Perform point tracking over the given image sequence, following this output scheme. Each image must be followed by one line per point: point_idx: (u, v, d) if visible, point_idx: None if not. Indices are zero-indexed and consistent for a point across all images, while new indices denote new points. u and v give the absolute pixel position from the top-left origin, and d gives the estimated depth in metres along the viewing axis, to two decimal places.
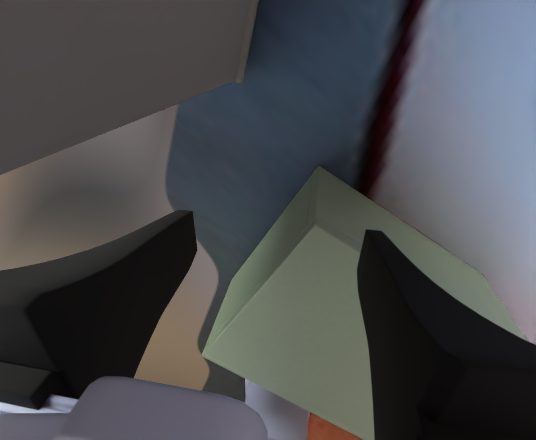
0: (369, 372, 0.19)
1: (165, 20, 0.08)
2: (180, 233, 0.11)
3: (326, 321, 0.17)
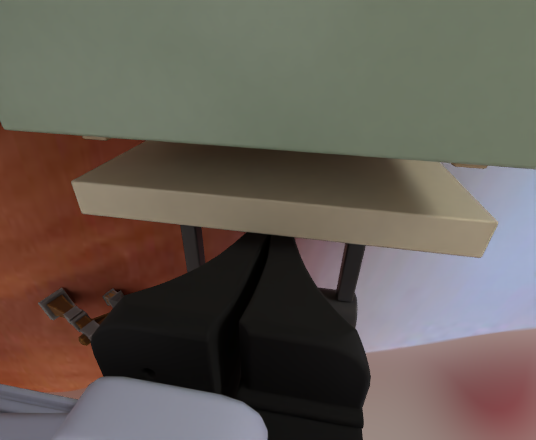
0: None
1: None
2: (270, 243, 0.11)
3: None
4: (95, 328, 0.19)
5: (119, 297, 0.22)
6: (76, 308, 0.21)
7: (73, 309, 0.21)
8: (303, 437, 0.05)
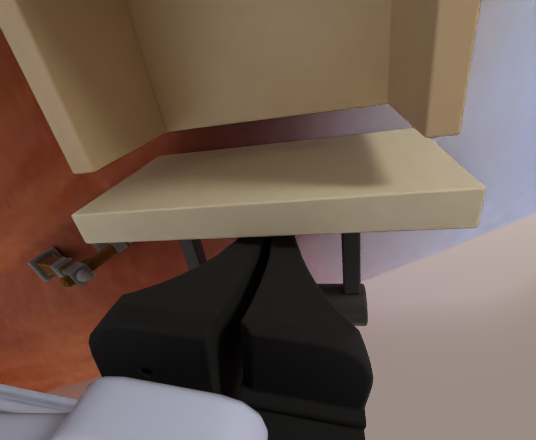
0: None
1: None
2: (268, 243, 0.11)
3: None
4: (78, 266, 0.16)
5: None
6: (63, 258, 0.19)
7: (60, 260, 0.19)
8: (305, 438, 0.05)
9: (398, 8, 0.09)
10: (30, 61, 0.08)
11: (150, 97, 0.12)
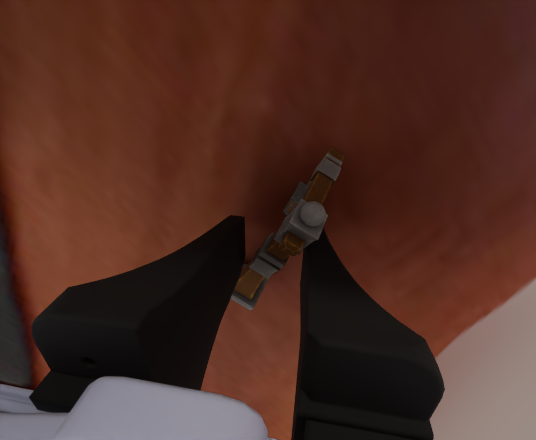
0: None
1: None
2: (236, 239, 0.11)
3: None
4: (293, 212, 0.09)
5: (305, 188, 0.12)
6: (260, 248, 0.12)
7: (257, 253, 0.12)
8: None
9: None
10: None
11: None
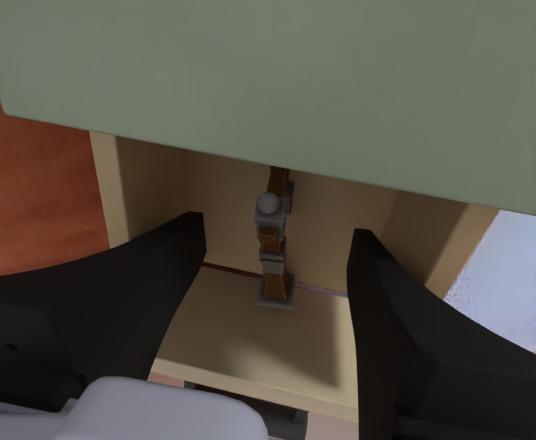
0: None
1: None
2: (191, 234, 0.11)
3: None
4: None
5: None
6: None
7: None
8: None
9: None
10: None
11: None
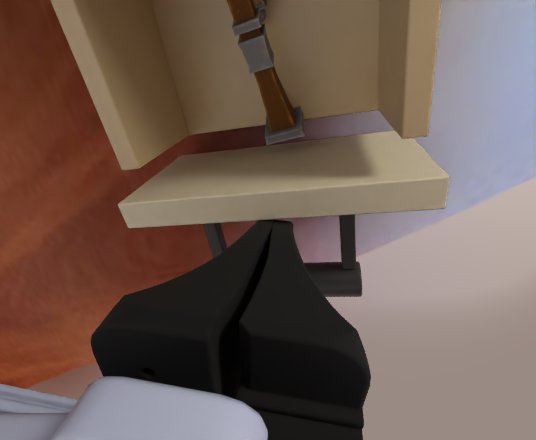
0: None
1: None
2: (270, 243, 0.11)
3: None
4: None
5: None
6: None
7: None
8: (303, 437, 0.05)
9: (383, 34, 0.11)
10: (95, 81, 0.10)
11: (176, 105, 0.15)
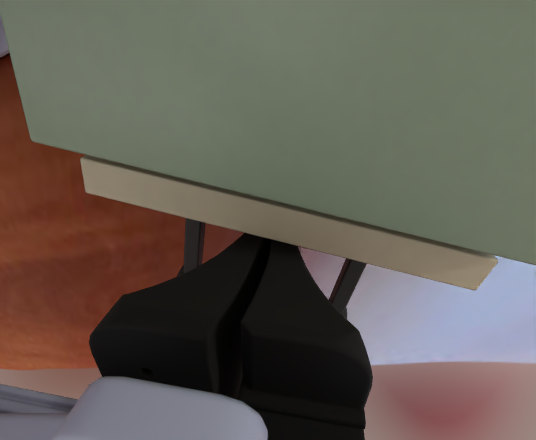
0: None
1: None
2: (269, 243, 0.11)
3: None
4: None
5: None
6: None
7: None
8: (305, 437, 0.05)
9: None
10: None
11: None
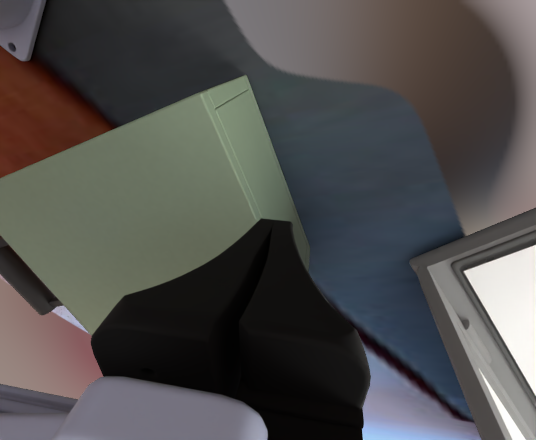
0: (119, 266, 0.17)
1: None
2: (270, 243, 0.11)
3: None
4: None
5: None
6: None
7: None
8: (303, 437, 0.05)
9: None
10: None
11: None
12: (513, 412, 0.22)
